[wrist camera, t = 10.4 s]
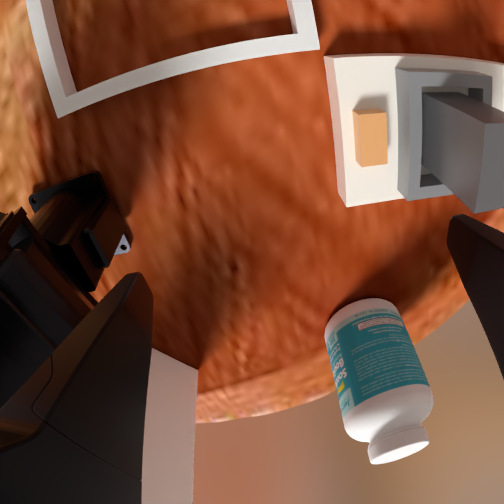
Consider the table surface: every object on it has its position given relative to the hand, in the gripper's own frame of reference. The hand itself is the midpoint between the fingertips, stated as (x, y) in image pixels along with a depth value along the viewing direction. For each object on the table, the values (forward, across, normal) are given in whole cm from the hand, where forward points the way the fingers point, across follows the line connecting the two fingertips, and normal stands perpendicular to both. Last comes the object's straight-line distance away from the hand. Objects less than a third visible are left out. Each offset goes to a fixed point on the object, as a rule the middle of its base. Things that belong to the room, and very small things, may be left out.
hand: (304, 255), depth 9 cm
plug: (+10, -10, 0) cm, 15 cm away
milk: (+12, +15, +22) cm, 29 cm away
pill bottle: (+12, -6, +19) cm, 23 cm away
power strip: (+12, -14, 0) cm, 19 cm away
